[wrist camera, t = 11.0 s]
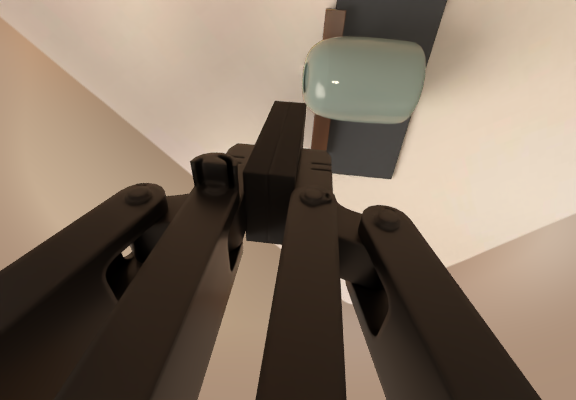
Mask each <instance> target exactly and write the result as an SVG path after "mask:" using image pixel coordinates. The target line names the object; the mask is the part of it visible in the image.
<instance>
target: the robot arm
mask: <svg viewBox="0 0 576 400" xmlns="http://www.w3.org/2000/svg"><path fill="white" fill-rule="evenodd" d="M306 105H307V103H295V102H282V101H275V102H274V104H273V106H272V108H271V111H270V113H269V115H268V117H267V120H266V122H265V124H264V126H263V128H262V131H261V133H260V135H259V137H258V139H257V142H256V144H255V145H249V144H236V145H234V146H233V147H231V148H230V149H229V150H228V152H227V153H226V154H224V153H207V154H202V155H200V156H197V157H195V158H194V159H193V160H191V161H190V163H191V169H192V174H193V180H194V185H195V186H194V188H193V189H192V191H191V192H190V194H184V195H175V196H166V195H165V191H164V189H163V188H162V187H161V186H159V185H157V184H151V183H143V184H142V183H140V184H136V185H132V186H129V187H127V188H125V189H123V190H121V191H119V192H118V193H116V194H115V195H113V196H112V197H111V198H109V199H107V200H106V201H104V202H103V203H101V204H100V205H98V206H97V207H95V208H94V209H92V210H91V211H89V212H88V213H86V214H85V215H83V216H82V217H80V218H79V219H77V220H76V221H74V222H73V223H72V224H70V225H69V226H67V227H66V228H64V229H63V230H61V231H60V232H58V233H56V234H55V235H53V236H52V237H50V238H49V239H47V240H46V241H44V242H43V243H41V244H40V245H38V246H37V247H36V248H34V249H33V250H31V251H30V252H28V253H27V254H25V255H24V256H22V257H21V258H19V259H18V260H16V261H15V262H13V263H12V264H10V265H9V266H7V267H6V268H4V269H3V270H1V271H0V400H197V399H198V396H199V392H200V389H201V386H202V383H203V380H204V376H205V373H206V370H207V367H208V364H209V360H210V357H211V353H212V351H213V347H214V344H215V341H216V337H217V334H218V331H219V328H220V325H221V321H222V318H223V315H224V312H225V308H226V305H227V302H228V299H229V295H230V292H231V289H232V286H233V282H234V279H235V276H236V273H237V270H238V267H239V263H240V260H241V257H242V253H243V237H244V234H245V231H246V240H247V241H255V242H263V243H272V244H281V245H282V249H281V254H280V260H279V266H278V272H277V278H276V284H275V289H274V295H273V301H272V307H271V313H270V319H269V324H268V330H267V337H266V342H265V348H264V354H263V360H262V365H261V371H260V377H259V383H258V389H257V395H256V400H346V382H345V362H344V344H343V323H342V304H341V283H340V278H342V279H344V280H345V281H346V286H347V289H348V292H349V295H350V298H351V300H352V303H353V306H354V309H355V312H356V314H357V317H358V320H359V323H360V326H361V329H362V332H363V334H364V337H365V340H366V343H367V346H368V349H369V351H370V354H371V357H372V360H373V363H374V365H375V368H376V371H377V374H378V377H379V380H380V383H381V385H382V388H383V391H384V394H385V397H386V400H541V398H540V397H539V395H538V394H537V393H536V391H535V390H534V389H533V387H532V386H531V384H530V383H529V382H528V380H527V379H526V378H525V376H524V375H523V373H522V372H521V371H520V369H519V368H518V367H517V365H516V364H515V363H514V361H513V360H512V358H511V357H510V356H509V354H508V353H507V351H506V350H505V349H504V347H503V346H502V345H501V343H500V342H499V340H498V339H497V338H496V336H495V335H494V334H493V332H492V331H491V329H490V328H489V327H488V325H487V324H486V323H485V321H484V320H483V318H482V317H481V316H480V315H479V313H478V312H477V310H476V309H475V307H474V306H473V305H472V303H471V302H470V301H469V299H468V298H467V296H466V295H465V294H464V292H463V291H462V290H461V288H460V287H459V285H458V284H457V283H456V281H455V280H454V279H453V277H452V276H451V274H450V273H449V272H448V270H447V269H446V268H445V266H444V265H443V263H442V262H441V261H440V259H439V258H438V257H437V255H436V254H435V253H434V251H433V250H432V248H431V247H430V246H429V244H428V243H427V242H426V240H425V239H424V237H423V236H422V235H421V233H420V232H419V231H418V229H417V228H416V226H415V225H414V224H413V222H412V221H411V220H410V218H409V217H408V216H406V215H405V214H404V213H403V212H401V211H399V210H397V209H396V208H392V207H389V206H383V205H375V206H370V207H368V208H367V209H365V210H364V211H363V213H362V214H360V213H357V212H354V211H351V210H349V209H346V208H345V207H343V206H341V205H340V204H339V203H338V202H337V201H336V198H335V195H334V194H333V187H332V166H331V165H332V162H331V156H330V155H329V154H328V153H327V151H326V150H315V149H304V148H303V140H304V128H305V117H306ZM129 245H130V247H131V249H132V252H131V253H130V254H129V255H127V256H126V257H123V255H122V253H121V252H122V251H124V250H125V249H126V248H127V247H128V246H129Z"/></svg>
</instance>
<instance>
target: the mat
mask: <svg viewBox="0 0 576 400" xmlns="http://www.w3.org/2000/svg"><path fill="white" fill-rule="evenodd" d="M446 2H447V0H337V4H336V9H337V10H346V18H345V25H344V32H343V36H366V37H379V38H390V39H399V40H407V41H412V42H415V43H418V44H419V45H420V46H421V47H422V49H423V51H424V54H425V59H426V66H427V63H428V60H429V57H430V53H431V50H432V47H433V44H434V41H435V37H436V34H437V31H438V28H439V25H440V21H441V18H442V15H443V12H444V9H445V5H446ZM410 118H411V116H410V117H409V118H408V119H407V120H405V121H403V122H402V123H399V124H372V123H357V122H347V121H339V120H333V119H331V122H330V129H329V136H328V143H327V150H326V151H327V153H328V154H329V155H330V156H331V162H332V165H331V166H332V173H335V174H344V175H354V176H364V177H374V178H383V179H391V178H392V175H393V172H394V169H395V166H396V162H397V159H398V156H399V153H400V150H401V146H402V143H403V140H404V137H405V134H406V130H407V127H408V124H409V121H410Z"/></svg>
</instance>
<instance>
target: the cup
mask: <svg viewBox="0 0 576 400" xmlns="http://www.w3.org/2000/svg"><path fill="white" fill-rule="evenodd" d="M425 70H426V59H425V54H424V51H423V49H422V47H421V46H420V45H419V44H418V43H415V42H412V41H407V40H399V39H390V38H379V37H366V36H342V37H334V38H329V39H325V40H322V41H320V42H318V43H317V44H315V45H314V46H313V47H312V48H311V49H310V51H309V53H308V54H307V57H306V60H305V64H304V69H303V79H302V94H303V100H304V102H305V103H307V105H306V106H307V108H308V109H309V110H310V111H312V112H313V113H315V114H316V115H319V116H321V117H324V118H328V119H333V120H339V121H347V122H357V123H372V124H399V123H402V122H403V121H405V120H407V119H408V118H409V117H410V116H411V114H412V113H413V111H414V110H415V107H416V105H417V103H418V101H419V98H420V95H421V92H422V88H423V84H424V79H425Z"/></svg>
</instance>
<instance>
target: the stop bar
mask: <svg viewBox="0 0 576 400" xmlns="http://www.w3.org/2000/svg"><path fill="white" fill-rule="evenodd" d="M345 18H346V10H337V9H326V14H325V23H324V33H323V40H325V39H329V38H334V37H342V36H343V32H344V25H345ZM330 122H331V119H328V118H324V117H321V116H319V115H316V114H315V116H314V125H313V134H312V144H311V149H315V150H327V143H328V136H329V129H330Z"/></svg>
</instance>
